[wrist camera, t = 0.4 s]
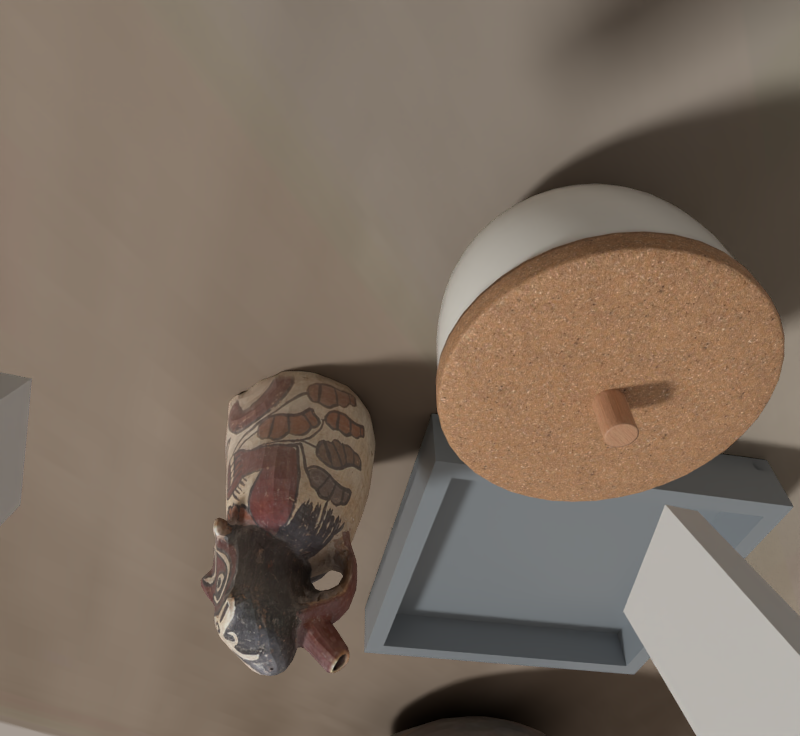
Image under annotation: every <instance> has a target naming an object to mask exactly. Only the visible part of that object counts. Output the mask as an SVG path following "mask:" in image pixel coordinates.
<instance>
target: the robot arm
mask: <svg viewBox="0 0 800 736" xmlns="http://www.w3.org/2000/svg"><path fill="white" fill-rule="evenodd" d="M31 382H32V379H31V378H26V377H21V376H16V375H11V374H6V373H1V372H0V525H1V524H2V523H3V522H4V521H5V520H6V519H7V518H8V517H9V516H10V515H11V514H12V513H13V512H14V511H15V510H16V509H17V508H18V507H19V506H20V503H21V492H22V481H23V470H24V459H25V448H26V437H27V426H28V415H29V404H30V393H31ZM623 612H624V613H625V615H626V617H627V618H628V620H629V622H630V624H631V625H632V627H633V629H634V630H635V632H636V634H637V636H638V637H639V639H640V641H641V642H642V644H643V646H644V647H645V649H646V651H647V653H648V654H649V656H650V658H651V659H652V661H653V663H654V664H655V666H656V668H657V670H658V671H659V673H660V675H661V676H662V678H663V680H664V681H665V683H666V685H667V687H668V688H669V690H670V692H671V693H672V695H673V697H674V699H675V700H676V702H677V704H678V705H679V707H680V709H681V710H682V712H683V714H684V716H685V717H686V719H687V721H688V722H689V724H690V726H691V727H692V729H693V731H694V733H695V734H696V736H800V616H799V615H798V614H797V613H796V612H795V611H794V610H793V609H792V608H791V607H790V606H789V605H788V604H787V603H786V602H785V601H784V600H783V599H782V598H781V597H780V596H779V595H778V594H777V593H776V592H775V590H774V589H773V588H772V587H771V586H770V585H769V584H768V583H767V582H766V581H765V580H764V579H763V578H762V577H761V576H760V575H759V574H758V573H757V572H756V571H755V570H754V569H753V568H752V567H751V566H750V565H749V564H748V563H747V562H746V561H745V559H744V558H743V557H742V556H741V555H740V554H739V553H738V552H737V551H736V550H735V549H734V548H733V547H732V546H731V545H730V544H729V543H728V542H727V541H726V540H725V539H724V538H723V537H722V536H721V535H720V534H719V533H718V532H717V531H716V529H715V528H714V527H713V526H712V525H711V524H710V523H709V522H708V521H707V520H706V519H705V518H704V517H703V516H702V515H701V514H700V513H699V512H698V511H695V510H690V509H685V508H680V507H675V506H670V505H665V506H664V509H663V511H662V514H661V516H660V519H659V522H658V524H657V527H656V529H655V532H654V534H653V537H652V539H651V542H650V544H649V547H648V550H647V552H646V555H645V557H644V560H643V562H642V565H641V567H640V570H639V572H638V575H637V577H636V580H635V583H634V585H633V588H632V590H631V593H630V595H629V598H628V600H627V603H626V605H625V608H624V611H623Z"/></svg>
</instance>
